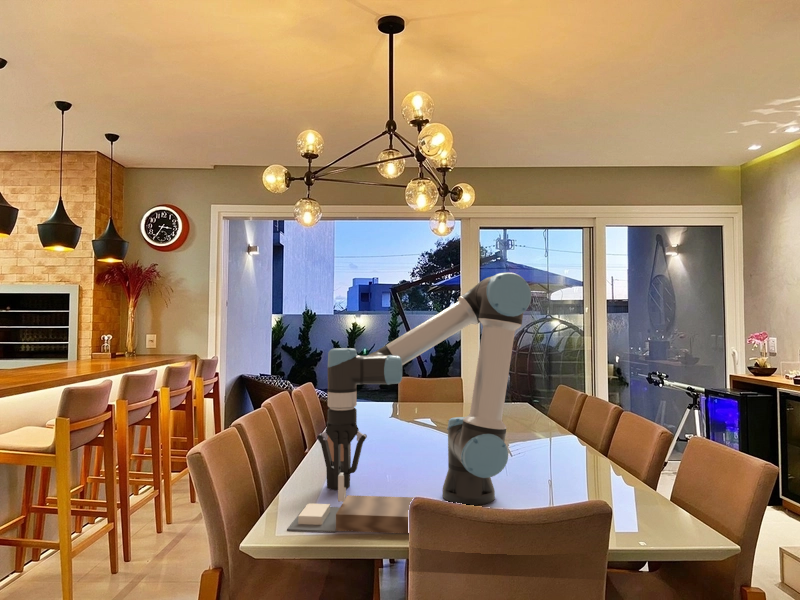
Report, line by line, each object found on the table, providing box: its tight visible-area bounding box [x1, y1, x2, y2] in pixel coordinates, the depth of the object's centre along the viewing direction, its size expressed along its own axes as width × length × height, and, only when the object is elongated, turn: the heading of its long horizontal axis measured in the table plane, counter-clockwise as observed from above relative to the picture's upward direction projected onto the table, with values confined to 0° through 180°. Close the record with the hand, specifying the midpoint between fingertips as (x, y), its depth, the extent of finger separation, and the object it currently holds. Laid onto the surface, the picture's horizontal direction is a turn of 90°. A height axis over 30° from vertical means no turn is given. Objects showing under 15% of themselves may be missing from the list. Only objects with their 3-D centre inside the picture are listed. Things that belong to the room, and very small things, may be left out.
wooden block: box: [336, 494, 415, 535], centre depth 132 cm, size 20×14×4 cm
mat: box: [286, 505, 341, 534], centre depth 134 cm, size 12×16×1 cm
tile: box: [297, 503, 331, 525], centre depth 134 cm, size 6×9×2 cm, turn 174°
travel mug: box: [325, 420, 352, 491], centre depth 161 cm, size 8×8×20 cm
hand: (342, 499), depth 134 cm, fingers closed
